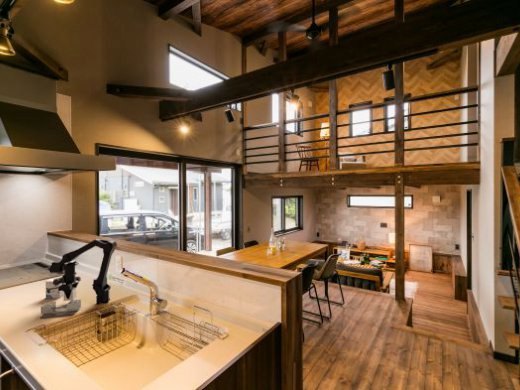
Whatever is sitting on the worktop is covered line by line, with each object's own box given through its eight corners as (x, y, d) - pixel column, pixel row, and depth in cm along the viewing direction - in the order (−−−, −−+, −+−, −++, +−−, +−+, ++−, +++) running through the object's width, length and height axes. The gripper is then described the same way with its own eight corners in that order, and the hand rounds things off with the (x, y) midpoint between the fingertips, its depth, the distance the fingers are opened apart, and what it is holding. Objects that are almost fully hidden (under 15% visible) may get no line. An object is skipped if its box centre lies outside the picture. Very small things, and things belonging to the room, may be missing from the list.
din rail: (82, 306, 168) (82, 297, 167) (75, 314, 156) (74, 304, 156) (48, 309, 163) (48, 300, 163) (38, 319, 151) (37, 308, 151)
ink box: (45, 299, 179) (45, 281, 179) (48, 296, 184) (48, 279, 183) (60, 297, 181) (60, 280, 181) (63, 295, 186) (63, 278, 186)
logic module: (76, 296, 175) (76, 287, 175) (72, 300, 170) (72, 290, 169) (67, 297, 174) (67, 287, 174) (63, 301, 168) (63, 291, 168)
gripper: (61, 269, 178) (61, 292, 179) (47, 278, 160) (48, 304, 161) (80, 267, 181) (81, 291, 182) (69, 276, 163) (69, 302, 164)
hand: (70, 296), depth 172 cm, fingers closed on logic module, 6 cm apart
